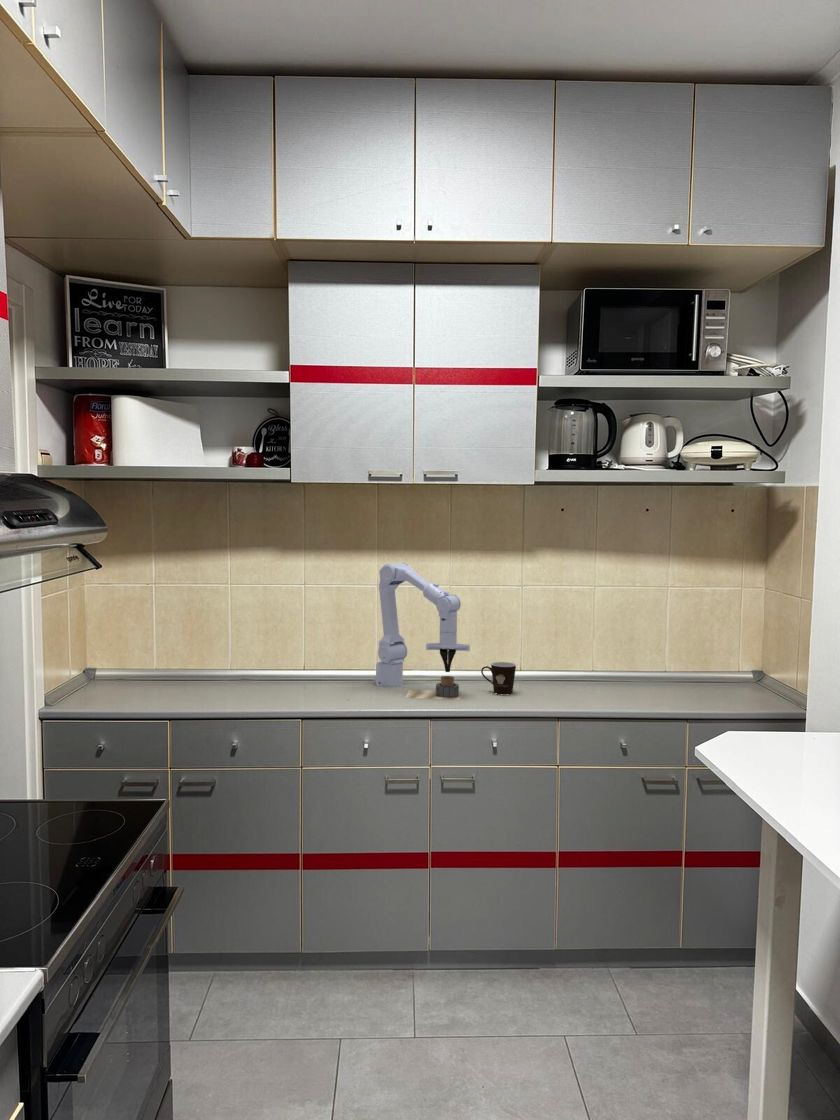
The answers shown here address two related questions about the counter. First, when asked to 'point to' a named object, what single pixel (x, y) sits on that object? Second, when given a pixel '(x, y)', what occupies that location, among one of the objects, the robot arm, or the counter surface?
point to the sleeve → (447, 691)
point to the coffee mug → (502, 677)
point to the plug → (447, 681)
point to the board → (428, 695)
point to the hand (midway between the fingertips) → (447, 671)
